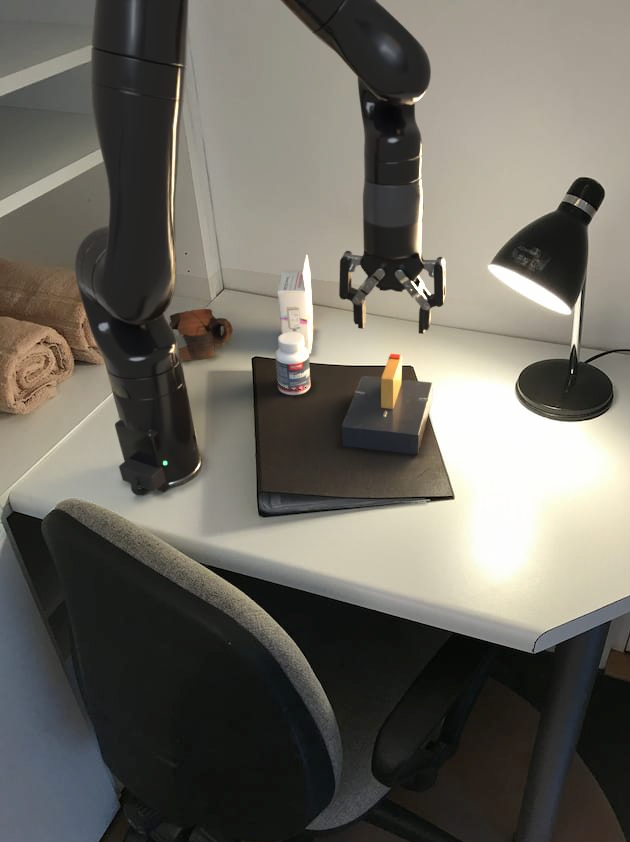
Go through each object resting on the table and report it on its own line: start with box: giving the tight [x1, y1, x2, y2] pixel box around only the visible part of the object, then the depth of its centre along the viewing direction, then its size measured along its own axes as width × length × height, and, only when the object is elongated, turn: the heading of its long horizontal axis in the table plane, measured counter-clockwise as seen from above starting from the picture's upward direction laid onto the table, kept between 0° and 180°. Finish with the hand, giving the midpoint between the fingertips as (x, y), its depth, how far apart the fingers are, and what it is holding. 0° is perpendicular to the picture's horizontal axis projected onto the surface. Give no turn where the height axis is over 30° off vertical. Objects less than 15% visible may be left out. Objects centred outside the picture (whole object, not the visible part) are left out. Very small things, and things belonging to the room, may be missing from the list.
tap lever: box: [380, 353, 403, 409], centre depth 111 cm, size 7×2×5 cm, turn 168°
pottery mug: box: [169, 308, 234, 362], centre depth 131 cm, size 12×10×8 cm
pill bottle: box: [274, 332, 311, 396], centre depth 119 cm, size 5×5×9 cm
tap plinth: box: [341, 375, 433, 455], centre depth 112 cm, size 15×11×4 cm
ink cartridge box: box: [276, 254, 314, 355], centre depth 128 cm, size 9×5×15 cm, turn 179°
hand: (392, 328), depth 106 cm, fingers open, 8 cm apart
